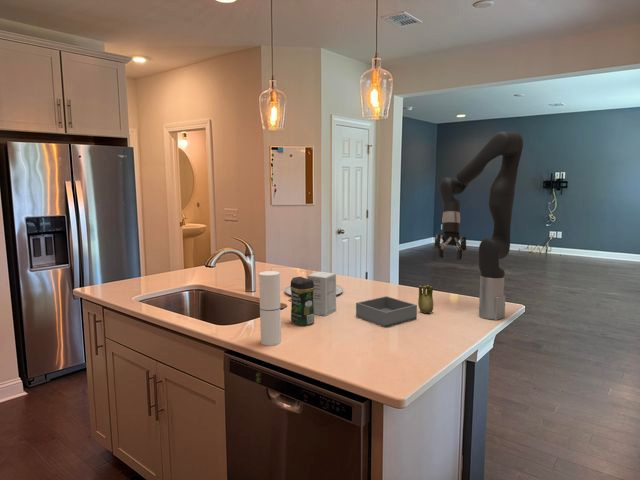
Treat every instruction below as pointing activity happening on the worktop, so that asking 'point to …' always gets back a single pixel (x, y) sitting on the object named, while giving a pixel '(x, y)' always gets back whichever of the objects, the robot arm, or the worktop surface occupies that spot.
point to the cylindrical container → (270, 308)
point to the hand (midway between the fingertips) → (450, 259)
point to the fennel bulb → (425, 299)
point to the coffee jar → (302, 301)
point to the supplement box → (324, 292)
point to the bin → (386, 311)
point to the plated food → (338, 290)
